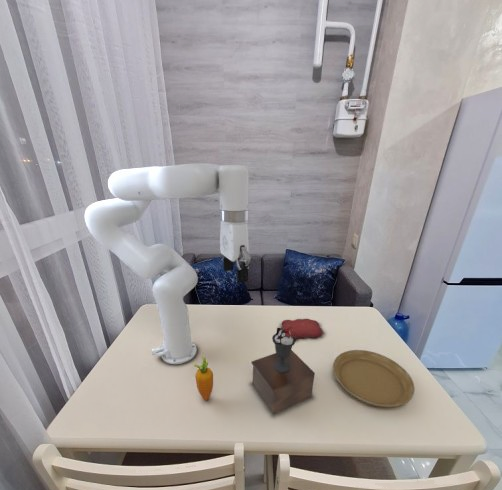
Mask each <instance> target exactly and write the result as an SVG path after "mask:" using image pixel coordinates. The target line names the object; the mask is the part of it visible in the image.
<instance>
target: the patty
mask: <svg viewBox="0 0 502 490" xmlns="http://www.w3.org/2000/svg"><path fill="white" fill-rule="evenodd" d="M290 326H291V327H292V329H290V328H289V327H290ZM280 328H282V329H286V328H289V331H290V333H291V335H293V336H294V337H295V338H296V340H298V339H306V338H310V339H316V338H320V337H321V336H323V334H324V333H323V329H322V328H321V327H320V323H319V322H318V321H317V320H314V319H310V318H297V319H294V320H293V319H292V320H291V319H284V320H283V321H282V322H281V327H280Z"/></svg>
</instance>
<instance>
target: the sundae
mask: <svg viewBox="0 0 502 490" xmlns="http://www.w3.org/2000/svg"><path fill="white" fill-rule="evenodd" d="M289 328H290V329H292V327H291V326H290V327H289ZM289 328H286V329H282V328H281V327H276V333H275V334H273V335H272V338H271V339H272V342H273V344H274V347H275V353H276V355H277V356H278V357H279V358H281V360H280V361H277V362H275V363H274V369H275V370H277V371H278V372H287V371H289V370H290V365H289V363H288V362H286V361H284V359H286V358H287V357H289V355H290V353H291V350H293V348H292V347H293V346H294V345H295V344H296V342H297V339H296V338H295V337H294V336H293V335H291V333H290V331H289Z"/></svg>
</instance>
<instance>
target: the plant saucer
mask: <svg viewBox="0 0 502 490" xmlns="http://www.w3.org/2000/svg"><path fill="white" fill-rule="evenodd" d="M332 369H333V374H334V376H335V378H336V381H337V382H338V383H339V386H341V387H342V388H343V389H344V391H345V392H347V393H348V394H349V395H350V396H352V397H353V398H354V399H356V400H358V401H360V402H363V403H365V404H367V405H369V406H373V407H377V408H388V409H389V408H398V407H400V406H404V405H406V404H407V403H408V402H410V401H411V400H412V399H413V398H414V395H415V389H416V387H415V384H414V380H413V379H412V377H411V376H410V374H409V373H408V372H407V370H406V369H405V368H403V366H401V364H399V363H398V362H396V361H395V360H393V359H392V358H389V357H388V356H385V355H383V354H381V353H377V352H375V351H370V350H365V349H351V350H346V351H343V352H341V353H339V354H338V355H337V356H336V357H335V359H334V361H333V364H332Z"/></svg>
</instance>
